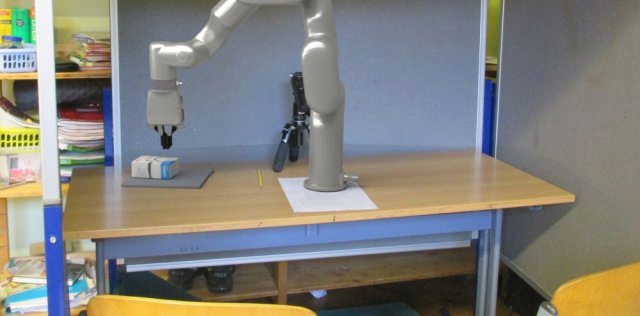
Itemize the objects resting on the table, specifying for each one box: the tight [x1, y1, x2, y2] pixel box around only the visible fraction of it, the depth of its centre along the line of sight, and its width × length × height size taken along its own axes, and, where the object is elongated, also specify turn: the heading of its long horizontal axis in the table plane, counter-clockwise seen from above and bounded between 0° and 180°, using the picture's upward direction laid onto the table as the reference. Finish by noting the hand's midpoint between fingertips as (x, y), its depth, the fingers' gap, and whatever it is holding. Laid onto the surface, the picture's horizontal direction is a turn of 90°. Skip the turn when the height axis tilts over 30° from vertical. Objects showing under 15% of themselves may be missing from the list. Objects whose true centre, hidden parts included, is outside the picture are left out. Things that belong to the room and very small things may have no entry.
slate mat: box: [120, 167, 214, 190], centre depth 192 cm, size 22×20×1 cm
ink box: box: [131, 155, 181, 179], centre depth 192 cm, size 9×5×12 cm
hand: (166, 148), depth 190 cm, fingers closed
